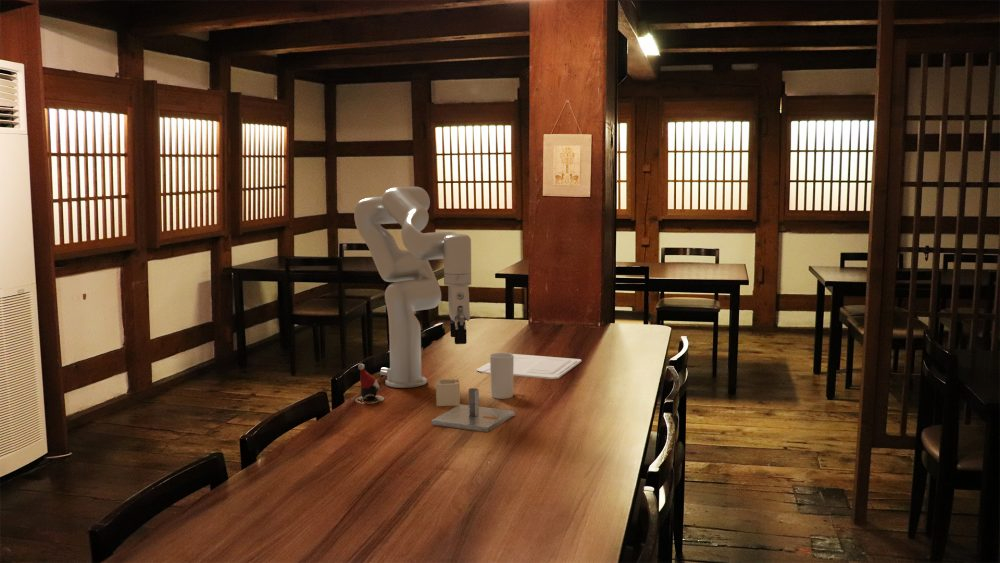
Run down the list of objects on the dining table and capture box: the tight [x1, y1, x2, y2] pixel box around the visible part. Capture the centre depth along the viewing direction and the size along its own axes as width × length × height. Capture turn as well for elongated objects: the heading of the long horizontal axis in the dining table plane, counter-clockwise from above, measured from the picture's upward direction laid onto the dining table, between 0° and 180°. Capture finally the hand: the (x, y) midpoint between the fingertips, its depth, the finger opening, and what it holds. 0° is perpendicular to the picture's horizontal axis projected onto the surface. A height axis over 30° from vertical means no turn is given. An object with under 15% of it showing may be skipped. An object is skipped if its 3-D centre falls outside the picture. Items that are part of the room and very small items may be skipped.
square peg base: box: [431, 387, 515, 433], centre depth 222 cm, size 16×16×8 cm
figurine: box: [354, 363, 385, 405], centre depth 242 cm, size 8×10×12 cm
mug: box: [489, 352, 514, 400], centre depth 247 cm, size 10×7×12 cm, turn 158°
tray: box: [475, 353, 582, 380], centre depth 283 cm, size 28×28×2 cm
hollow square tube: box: [435, 378, 461, 407], centre depth 239 cm, size 6×6×6 cm
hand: (458, 340), depth 237 cm, fingers open, 9 cm apart
